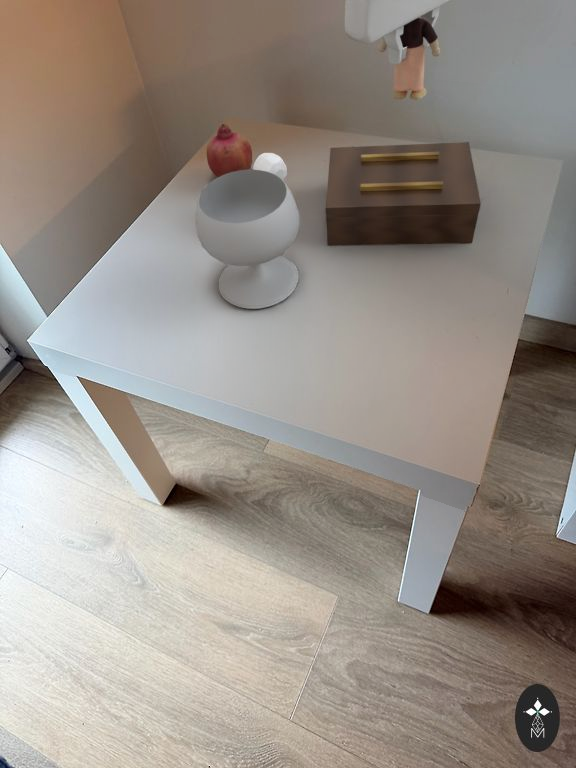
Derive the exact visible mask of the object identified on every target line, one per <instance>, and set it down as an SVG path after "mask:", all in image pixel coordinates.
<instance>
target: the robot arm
mask: <svg viewBox="0 0 576 768" xmlns="http://www.w3.org/2000/svg"><path fill="white" fill-rule="evenodd" d="M450 1H451V0H345V5H344V31H345V34H346V35H347V37H348V38H349V39H350V40H353V41H355V42H358V43H361V44H365V45H370V44H372V43H375V42H376V41H378V40H380V39H382V38H383V37H384V40H385V42H386V44H387V48H388V51H387V52H388V53H387V60H388V62H389V63H390V64H392V65H394V64H395V65H398V64H399V63H401V62H403V61H405V60H406V57H407V56H406V53H407V46H405V45H402V42H401V39H400V35H402V34H403V29H404V25H406V24H408V23H409V22H411V21H413V20H415V19H417V18H422V19H424V20H426V21H428V22H429V23H430V24H431V26H432V27H433V28H434V27H435V25H436V23H437V21H438V18H439V15H440V8H441V6H443V5H444V4H447V3H448V2H450ZM423 44H424V48H425V49H427V48H429V47H430V44H429V43H428V42H427V40H426V39H425V38H424V37H423Z"/></svg>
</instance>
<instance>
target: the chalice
mask: <svg viewBox="0 0 576 768" xmlns="http://www.w3.org/2000/svg"><path fill="white" fill-rule="evenodd" d="M194 217H195V229H196V235H197V239H198V241H199V244H200V246H201V247H202V248H203V250H205V252H206V253H207V254H208V255H209V256H210V257H212V258H213V259H216V260H217V261H218V262H220V263H224V264H225V265H227V266H225V268H224V269H223V271H222V272H221V274H220V276H219V279H218V290H219V293H220V295H221V296H222V297H223V298H224V300H226V301H227V302H228V303H229V304H231V305H233V306H236V307H239V308H243V309H249V310H250V309H252V310H253V309H254V310H256V309H257V310H258V309H263V308H264V309H265V308H268V307H271V306H274V305H277V304H279V303H281V302H282V301H285V300H286V299H287V298H288V297H290V295H292V293H293V292H294V291H295V289H296V288H297V285H298V283H299V276H300V275H299V271H298V269H297V267H296V265H295V263H293V262H292V261H291V259H289V258H287V257H285V256H284V255H282V254H284V253H285V252H286V251H287V250H288V249H289V248H290V247H291V245H292V244H293V243H294V242H295V240H296V237H297V235H298V233H299V229H300V213H299V210H298V206H297V203H296V200H295V197H294V194H293V193H292V191H291V189H290V188H289V187H288V185H287V184H286V183H285V181H283V180H282V179H280V178H279V177H278V176H276V175H275V174H272V173H269V172H267V171H262V170H253V169H249V170H239V171H235V172H230V173H228V174H225V175H222V176H220V177H218V178H217V177H215V178H214V179H213V180H211V181H210V182H209V183H207V184H206V186H205V187H204V188H202V191H201V193H200V195H199V196H198V199H197V203H196V208H195V216H194Z"/></svg>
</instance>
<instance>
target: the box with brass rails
mask: <svg viewBox="0 0 576 768" xmlns="http://www.w3.org/2000/svg"><path fill="white" fill-rule="evenodd" d="M477 181H478V180H477V177H476V170H475V166H474V161H473V156H472V150H471V146H470V142H469V141H464V142H440V143H439V142H438V143H420V144H419V143H417V144H416V143H415V144H391V145H388V144H387V145H365V146H364V145H363V146H342V147H341V146H340V147H330V149H329V161H328V176H327V187H326V199H325V200H326V201H325V220H326V242H327V243H326V244H327V245H326V246H364V245H365V246H369V245H423V244H425V245H427V244H431V245H432V244H472V243H473V241H474V236H475V232H476V228H477V222H478V218H479V214H480V210H481V205H482V203H481V197H480V192H479V186H478V182H477Z"/></svg>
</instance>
